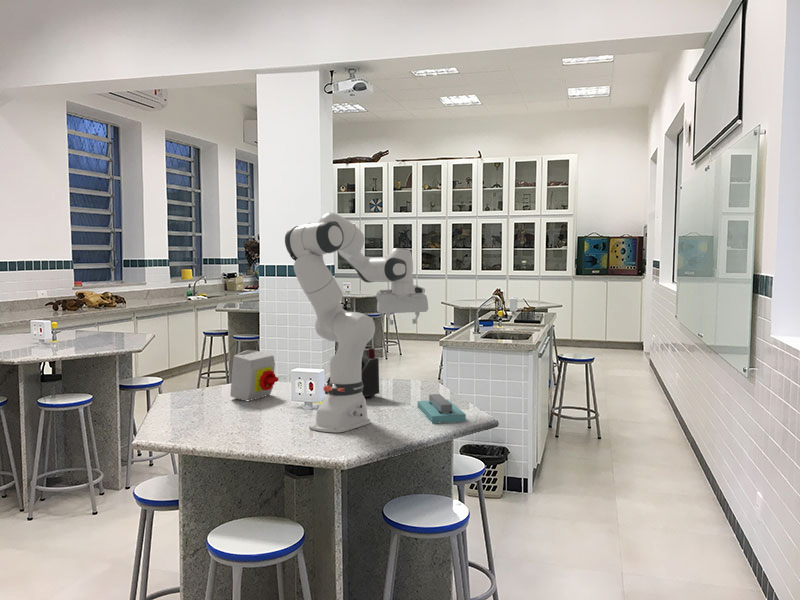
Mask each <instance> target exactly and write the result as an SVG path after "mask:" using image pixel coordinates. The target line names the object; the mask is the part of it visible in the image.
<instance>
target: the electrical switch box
mask: <svg viewBox="0 0 800 600" xmlns="http://www.w3.org/2000/svg"><path fill="white" fill-rule="evenodd" d="M275 365H276V362H275V357H274V355H272V354H269V353H267V352H266V353H265V352H262V351H258V350H250V349H249V350H244V351H241V352H239V353H237V354H235V355H233V358H232V366H231V367H232V370H231V380H230V381H231V385H230V395H229V396H230V397H231V398H234V399H238V400H240V399H241V401H243V400H251V399H254V400H256V399H255V398H258V397H261V398H263V397H262V396H265V395H268V396H270V395H271V393H272V392H273V391H272V390H273V388H274V385H275V383H277V382H279V377H277V376H276V373H275V370H276V369H275V368H276V367H275ZM269 394H270V395H269ZM265 397H266V396H265ZM258 399H259V398H258ZM251 401H252V400H251Z"/></svg>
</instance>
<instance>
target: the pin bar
mask: <svg viewBox="0 0 800 600" xmlns="http://www.w3.org/2000/svg"><path fill="white" fill-rule="evenodd" d="M428 401H430V402H431V403H432V405H434V406H435V407H436V408H437V409H438V410H439V411H440V412H441V414H446V413H449V412H452V404H451V403H450V402H451V401H450V402H448V401H447V400H446V398H445V397H444V396H443V395H441V394H440V393H433V394H429V395H428Z"/></svg>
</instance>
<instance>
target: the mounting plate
mask: <svg viewBox="0 0 800 600" xmlns="http://www.w3.org/2000/svg"><path fill="white" fill-rule="evenodd" d="M445 399H446V398H445ZM446 400H447V401H448V402H450V403H451V404H452V412H449V413H446V414H441V412H440V411H439V410H438V409H437V408H436V407H435V406H434V405H432V403H431V402H430V401H429V400H418V401H417V409H418V408H419V409H420V410H421V411H422V412H423V413H424V414H425V415H426V416H425V415H424V414H423V413H422V412H421V411H420V410H419V409H418V410H419V411H420V412H421V413H422V414H423V415H424V416H425V417H426V418H427V420H428V421H429V420H430V421H431V422H432V423H433V424H440V423H439V422H448V423H458V422H459V423H461V422H466V420H467V419H466V418H467V417H466V416H467V414H466V413H464V411H463V410H462V409H460V408H459V407H458V406H457V405H455V404H454V403H453V402H452V401H450V400H449V399H448V398H447V399H446ZM430 421H429V422H430ZM431 422H430V423H431ZM432 423H431V424H432Z"/></svg>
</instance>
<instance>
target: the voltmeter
mask: <svg viewBox="0 0 800 600" xmlns="http://www.w3.org/2000/svg"><path fill="white" fill-rule="evenodd" d="M375 352H376V351H375V348H368V355H363V356H362V367H361V376H362V381H363V391H362V393H363V396H364V398H365V397H369V398H375V395H377V394H378V395H379V394H380V363H379V361H380V359H379V357H376V353H375ZM329 382H330V376H329V377H328V379H327V380H326V385H325V386H329ZM324 394H325V395H327V394H328V393H327V391H324Z"/></svg>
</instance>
